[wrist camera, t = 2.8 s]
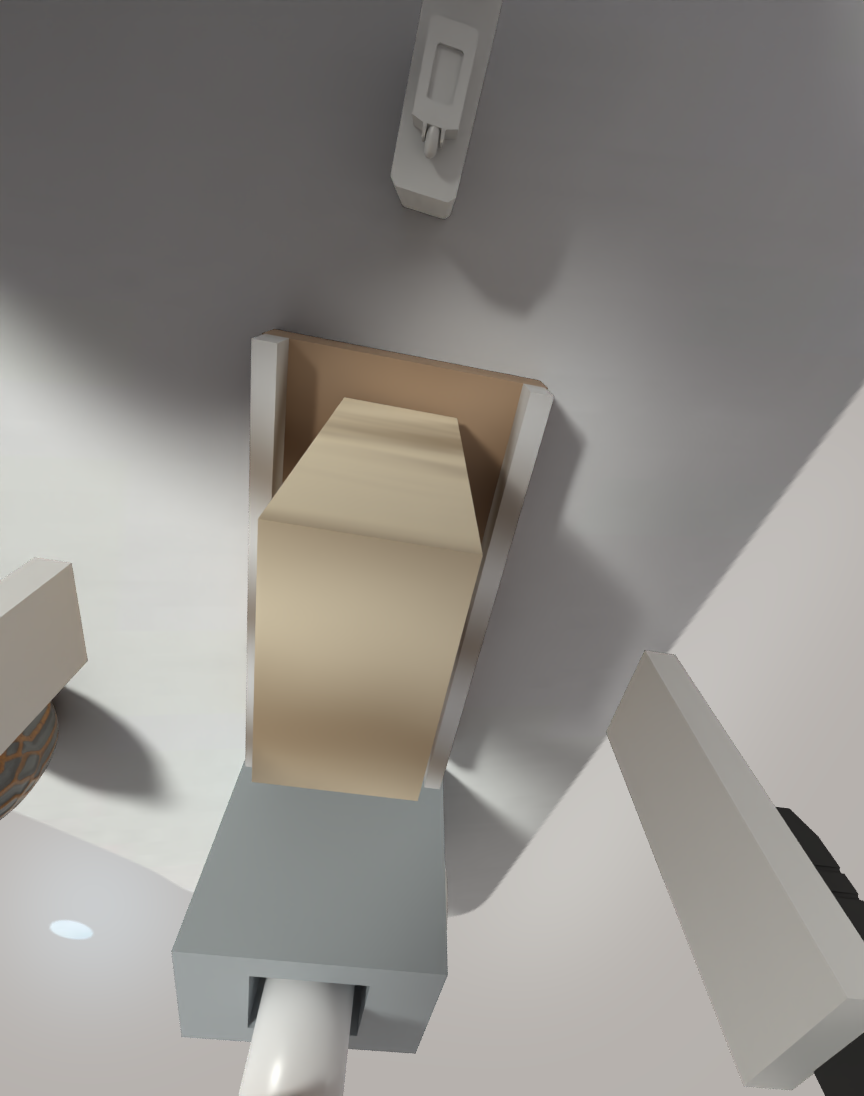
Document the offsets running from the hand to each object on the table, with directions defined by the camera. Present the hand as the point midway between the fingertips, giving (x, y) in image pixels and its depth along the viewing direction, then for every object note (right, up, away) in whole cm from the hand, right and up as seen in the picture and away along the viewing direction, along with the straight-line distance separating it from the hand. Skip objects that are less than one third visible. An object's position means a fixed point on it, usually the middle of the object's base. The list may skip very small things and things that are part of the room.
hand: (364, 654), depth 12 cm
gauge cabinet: (-4, -13, +19) cm, 23 cm away
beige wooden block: (0, +4, +7) cm, 9 cm away
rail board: (-1, +1, +11) cm, 12 cm away
